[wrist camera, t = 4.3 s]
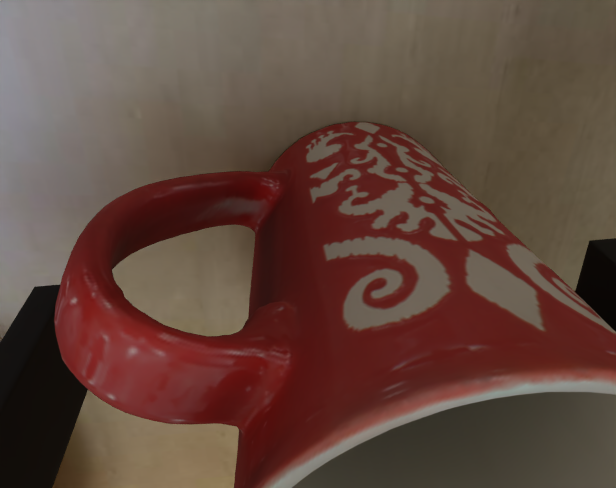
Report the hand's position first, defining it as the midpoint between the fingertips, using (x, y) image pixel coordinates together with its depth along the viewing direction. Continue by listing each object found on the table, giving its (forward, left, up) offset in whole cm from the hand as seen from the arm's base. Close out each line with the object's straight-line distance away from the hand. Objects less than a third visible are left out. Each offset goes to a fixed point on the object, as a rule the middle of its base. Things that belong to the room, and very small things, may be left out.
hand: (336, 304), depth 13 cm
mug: (0, 0, -7) cm, 7 cm away
